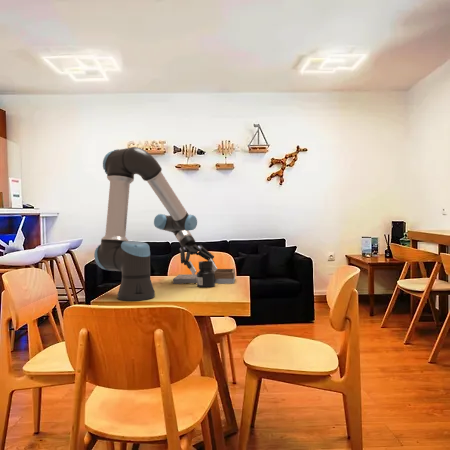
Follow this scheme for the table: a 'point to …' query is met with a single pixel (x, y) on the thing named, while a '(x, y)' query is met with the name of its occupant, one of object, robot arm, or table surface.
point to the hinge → (193, 279)
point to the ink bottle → (205, 274)
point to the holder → (224, 273)
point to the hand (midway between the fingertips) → (205, 271)
